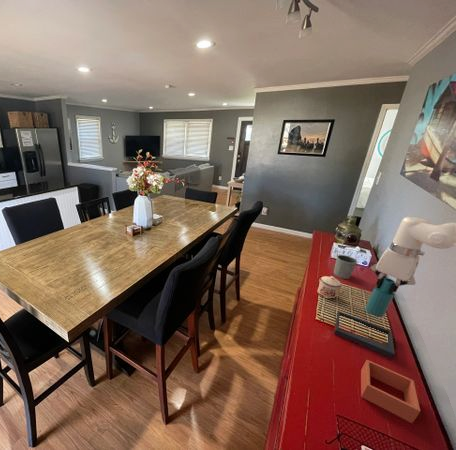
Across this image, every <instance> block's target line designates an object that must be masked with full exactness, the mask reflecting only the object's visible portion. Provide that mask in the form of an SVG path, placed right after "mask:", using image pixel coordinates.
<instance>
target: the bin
mask: <svg viewBox="0 0 456 450" xmlns="http://www.w3.org/2000/svg"><path fill="white" fill-rule="evenodd" d="M371 378H373V379H375V380H377V381H379V382H381V383H383V384H385V385H387V386H389V387H391V388H394V389H396V390H398V391H399V392H402V393H403V398H404V400H403V399H401V398H398V397H396V396H394V395H392V394H390V393H388V392H385V391H384V390H382V389H380V388H377V387H376V386H373V385H371ZM360 397H361V398H362V399H364V400H367V401H368V402H370V403H372V404H374V405H376V406H378V407H379V408H381V409H384V410H385V411H388V412H389V413H391V414H393V415H395V416H397V417H399V418H401V419H403V420H405V421H406V422H408V423H410V424H413V423H414V422H415V420H416V419H417V417H418V416H419V415H420V413H421V408H420V402H419V399H418V395H417V389H416V385H415V381H414V380H413V379H412V378H410V377H407V376H404V375H403V374H401V373H398V372H396V371H393V370H392V369H390V368H387V367H384V366H382V365H380V364H377V363H376V362H373V361H371V360H368V359H366V360H365V362H364V364H363V366H362V368H361V369H360Z"/></svg>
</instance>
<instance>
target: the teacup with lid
mask: <svg viewBox="0 0 456 450" xmlns="http://www.w3.org/2000/svg"><path fill="white" fill-rule="evenodd" d="M340 289H341V290H343V291H342V292H339V290H340ZM316 292H317V294H318V293H319V294H321V295H323V296H325V297H329V298H335V297H337V296H344V294H346V292H347V290H346V288H345V287H343V286H342V284H341V281H340V280H339V279H337V278H335V276H333V275H330V276H327V275H326V276H325V275H324V276H322V277H321V278H320V282H319V285H318V288H317V291H316ZM319 294H318V295H319ZM321 295H320V296H321ZM335 299H336V298H335Z"/></svg>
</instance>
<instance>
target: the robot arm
mask: <svg viewBox="0 0 456 450" xmlns="http://www.w3.org/2000/svg"><path fill="white" fill-rule="evenodd" d="M423 245H426V246H429V247H431V248H435V249H441V250H442V249H443V250H444V249H450V248H452V247H454V246H456V222H446V223H442V224H432V221H430V220H428V219H427V218H426V219H425V218H422V217H416V216H406V217H403V218H402V220H401V222H400V224H399V226H398V228H397V230H396V233H395V235H394V237H393V240H392V242H391V244H390V246H388V247H386V249H385V251H383V253H382V255H381V256H380V258H379V260H378V262H377V263H375V264H373V265H372V266H370V269H371V270H372V271H373V272H374V274H375V275H376V277H377V281H376V282H375V285H376V286H377V287H376V286H375V287H376V288H380V286H381V284H382V282H383V279H384V278H385V276H386V275H387V276H390V277H393V278H395V283H394V284H393V285H392V287H391V290H390V292H389V293H390V294H392V293H393V292H394V293H396V292H397V291H398V289H399V288H400V287H401V286H407V285H409V286H414V285H416V284H417V282H416V279H415V273H416V271H417V268H418V266H419V261H420V256H422V257H423V256H424V255H425V252H424V251H422V249H421V248H422V246H423Z"/></svg>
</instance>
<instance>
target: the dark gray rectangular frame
mask: <svg viewBox="0 0 456 450" xmlns="http://www.w3.org/2000/svg"><path fill="white" fill-rule="evenodd" d="M336 315H337V318H336V317H335V322H336V325H335V324H334V330H335V331H334V330H333V335H335V334H336V335H335V336H338V335H339V336H338V337H340V336H341V337H340V338H342V337H343V339H345V338H346V339H345V340H347V339H348V340H347V341H349V340H351V341H350V342H352V341H353V342H352V343H354V342H355V343H354V344H356V343H358V344H357V345H359V344H360V345H359V346H361V345H362V346H361V347H363V346H364V347H363V348H366V349H368V348H369V349H368V350H370V349H371V350H370V351H373V352H375V353H377V354H380V355H381V356H385V357H387V358H389V359H394V357H395V355H396V353H395V352H396V351H395V347H394V340H393V335H392V330H391V329H387V328H384V327H382V326H380V325H377V324H374V323H371V322H369V321H366V320H363V319H361V318H358V317H355V316H353V315H350V314H347V313H345V312H342V311H339V310H337V312H336ZM340 315H342V316H345V317H347V318H350V319H353V320H355V321H357V322H360V323H362V324H364V325H366V326H368V327H371V328H374V329H376V330H379V331H381V332H384V333H386V334H388V343H389V344H386V343H380V342H378V341H375V340H373V339H369V338H366V337H363V336H360V335H356V334H353V333H350V332H347V331H345V330H343V329H340V328H338V325H339V316H340Z"/></svg>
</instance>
